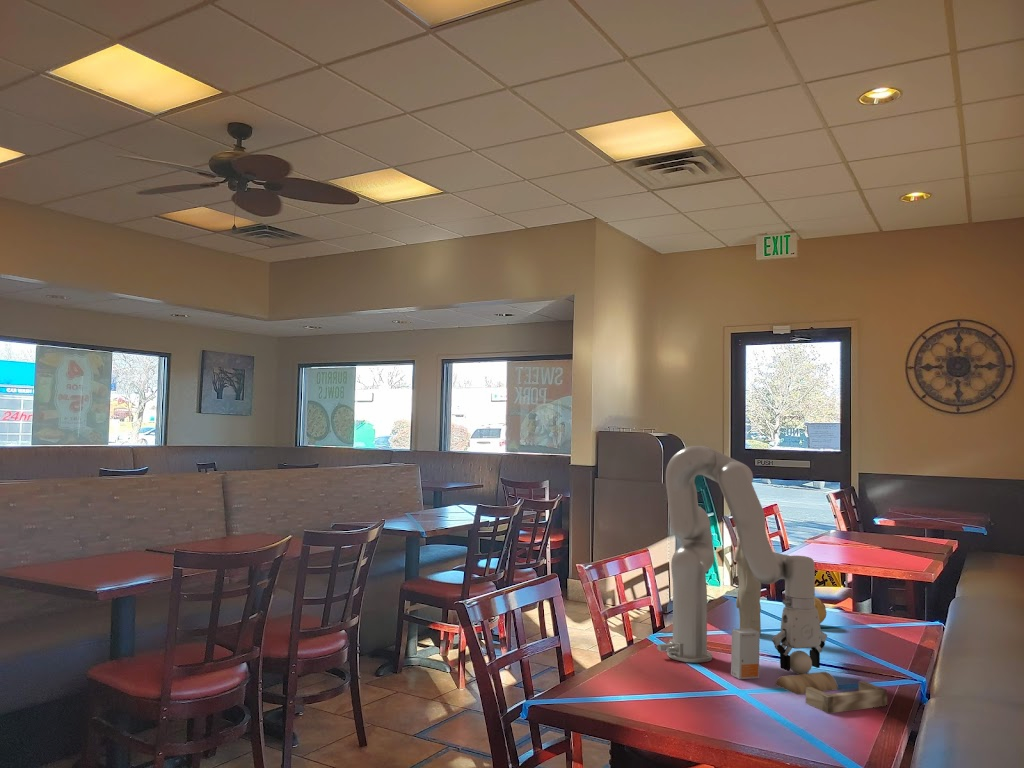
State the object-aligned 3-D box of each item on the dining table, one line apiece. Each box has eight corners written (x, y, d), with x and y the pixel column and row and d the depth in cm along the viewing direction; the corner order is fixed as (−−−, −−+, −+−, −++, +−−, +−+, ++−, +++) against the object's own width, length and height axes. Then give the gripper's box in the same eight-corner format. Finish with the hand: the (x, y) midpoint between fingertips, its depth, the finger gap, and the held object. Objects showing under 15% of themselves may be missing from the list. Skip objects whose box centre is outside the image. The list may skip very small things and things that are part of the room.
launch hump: (796, 715, 190) (796, 681, 191) (775, 704, 198) (775, 672, 198) (838, 709, 195) (838, 677, 195) (816, 699, 202) (816, 668, 203)
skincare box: (739, 680, 201) (739, 632, 202) (730, 675, 205) (730, 628, 206) (760, 678, 203) (760, 631, 204) (750, 673, 207) (751, 627, 208)
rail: (827, 713, 178) (827, 697, 178) (805, 702, 184) (805, 687, 185) (887, 705, 184) (887, 690, 184) (863, 696, 191) (863, 681, 191)
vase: (732, 634, 248) (732, 539, 250) (738, 629, 256) (739, 536, 258) (759, 638, 244) (759, 541, 246) (765, 632, 251) (765, 539, 253)
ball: (798, 678, 204) (798, 654, 204) (783, 671, 209) (783, 648, 210) (817, 676, 206) (816, 653, 206) (801, 669, 211) (801, 647, 212)
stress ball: (797, 624, 268) (784, 608, 263) (813, 602, 270) (800, 585, 266) (820, 636, 259) (807, 619, 255) (836, 613, 261) (823, 596, 257)
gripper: (782, 607, 202) (783, 674, 201) (835, 604, 208) (836, 669, 207) (764, 601, 209) (764, 666, 208) (815, 598, 215) (816, 661, 214)
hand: (800, 668), depth 208 cm, fingers open, 9 cm apart
